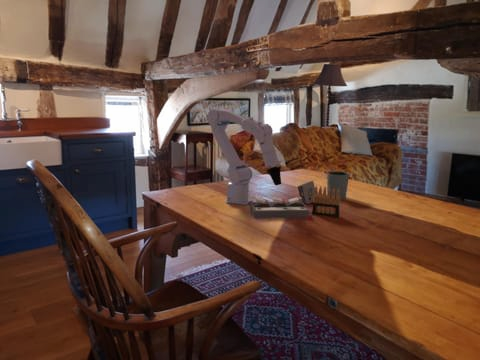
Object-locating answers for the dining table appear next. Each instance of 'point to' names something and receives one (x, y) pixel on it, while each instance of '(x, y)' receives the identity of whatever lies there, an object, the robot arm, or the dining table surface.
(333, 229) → the dining table surface
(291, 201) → the rocker right
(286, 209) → the switch panel
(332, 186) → the grey cup
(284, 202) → the rocker middle
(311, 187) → the electrical switch
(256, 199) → the rocker left
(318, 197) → the ammunition clip
